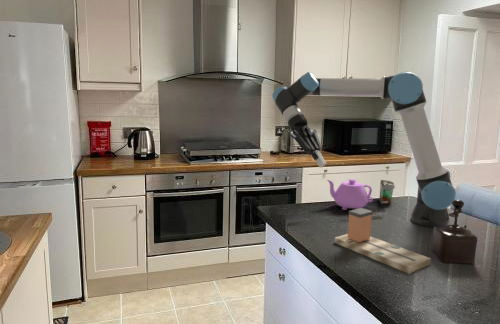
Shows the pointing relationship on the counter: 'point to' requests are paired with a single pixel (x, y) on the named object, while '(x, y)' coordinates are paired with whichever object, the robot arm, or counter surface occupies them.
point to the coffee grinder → (454, 241)
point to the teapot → (350, 194)
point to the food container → (386, 191)
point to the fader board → (386, 253)
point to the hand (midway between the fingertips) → (323, 165)
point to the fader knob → (359, 224)
